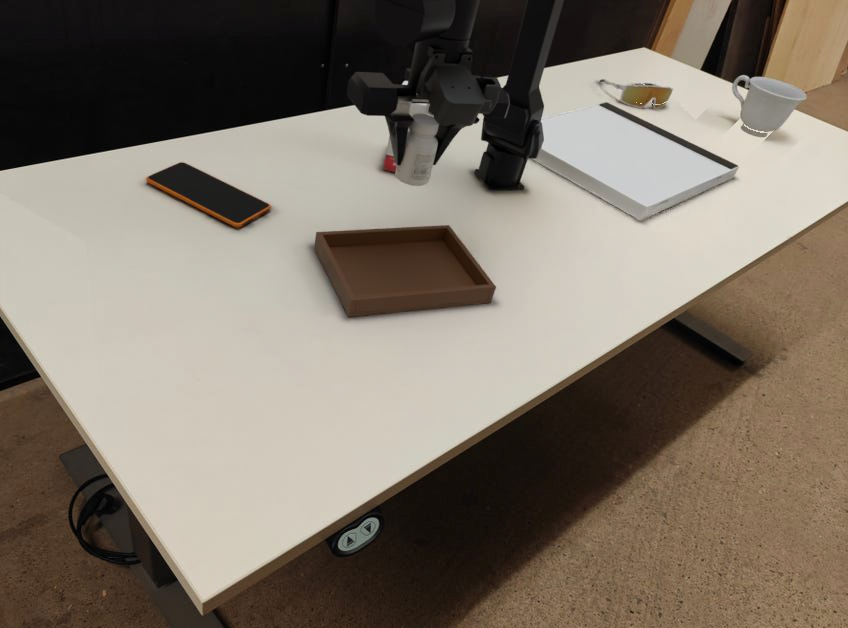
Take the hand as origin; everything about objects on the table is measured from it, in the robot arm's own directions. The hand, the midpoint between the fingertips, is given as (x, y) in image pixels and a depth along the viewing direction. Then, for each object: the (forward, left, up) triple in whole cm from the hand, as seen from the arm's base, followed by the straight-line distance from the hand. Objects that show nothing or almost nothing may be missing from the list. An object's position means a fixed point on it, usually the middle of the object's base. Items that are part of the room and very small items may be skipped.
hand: (414, 164), depth 83 cm
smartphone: (+23, -15, -12) cm, 30 cm away
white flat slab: (-55, -24, -13) cm, 61 cm away
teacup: (-101, -37, -13) cm, 108 cm away
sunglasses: (-81, -54, -13) cm, 98 cm away
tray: (+2, +6, -12) cm, 14 cm away
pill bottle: (0, 0, -2) cm, 2 cm away
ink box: (-10, -24, -13) cm, 29 cm away
